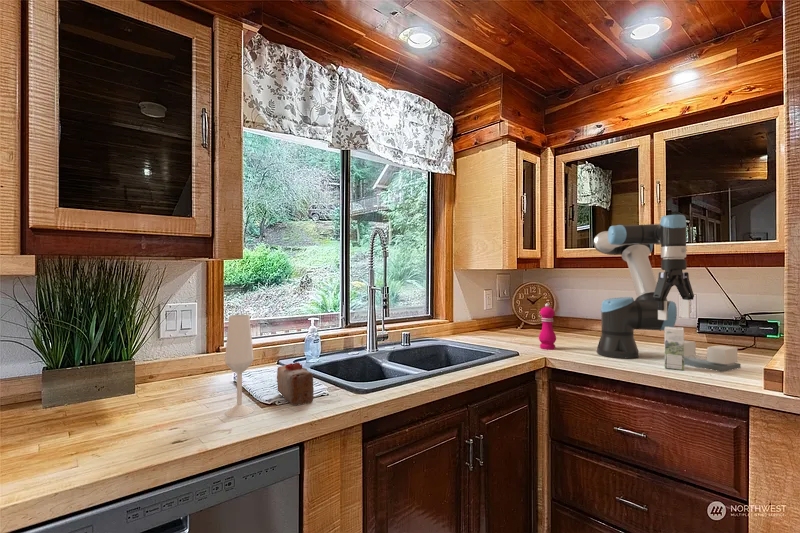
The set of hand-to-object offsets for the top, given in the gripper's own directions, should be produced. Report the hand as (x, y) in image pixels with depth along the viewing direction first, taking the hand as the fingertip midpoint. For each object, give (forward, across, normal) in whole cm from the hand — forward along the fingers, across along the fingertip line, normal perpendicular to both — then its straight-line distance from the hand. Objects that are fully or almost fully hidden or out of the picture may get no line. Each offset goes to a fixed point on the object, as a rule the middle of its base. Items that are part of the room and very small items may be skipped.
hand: (674, 318), depth 145 cm
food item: (+18, -127, +28) cm, 131 cm away
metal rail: (+16, +15, -1) cm, 22 cm away
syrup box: (+18, 0, 0) cm, 18 cm away
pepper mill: (+18, -12, +47) cm, 52 cm away
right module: (+15, +15, -7) cm, 23 cm away
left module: (+15, +15, +6) cm, 22 cm away
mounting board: (+17, +15, -1) cm, 23 cm away
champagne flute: (+18, -142, +23) cm, 145 cm away
